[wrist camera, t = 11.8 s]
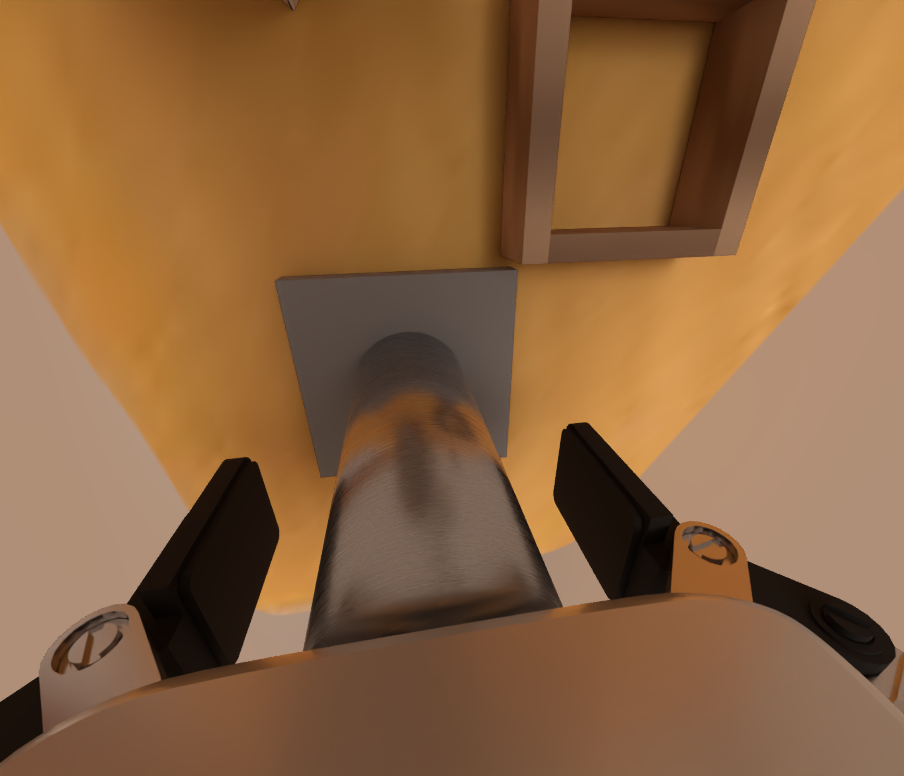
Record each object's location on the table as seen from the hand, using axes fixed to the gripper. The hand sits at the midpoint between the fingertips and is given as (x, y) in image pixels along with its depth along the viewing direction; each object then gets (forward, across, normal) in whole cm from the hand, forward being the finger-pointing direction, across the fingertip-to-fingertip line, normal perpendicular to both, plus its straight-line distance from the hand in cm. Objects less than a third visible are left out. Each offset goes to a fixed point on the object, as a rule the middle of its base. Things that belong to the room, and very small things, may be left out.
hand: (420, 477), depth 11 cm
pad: (+8, 0, 0) cm, 8 cm away
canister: (+7, 0, 0) cm, 7 cm away
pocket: (+8, -9, -10) cm, 16 cm away
